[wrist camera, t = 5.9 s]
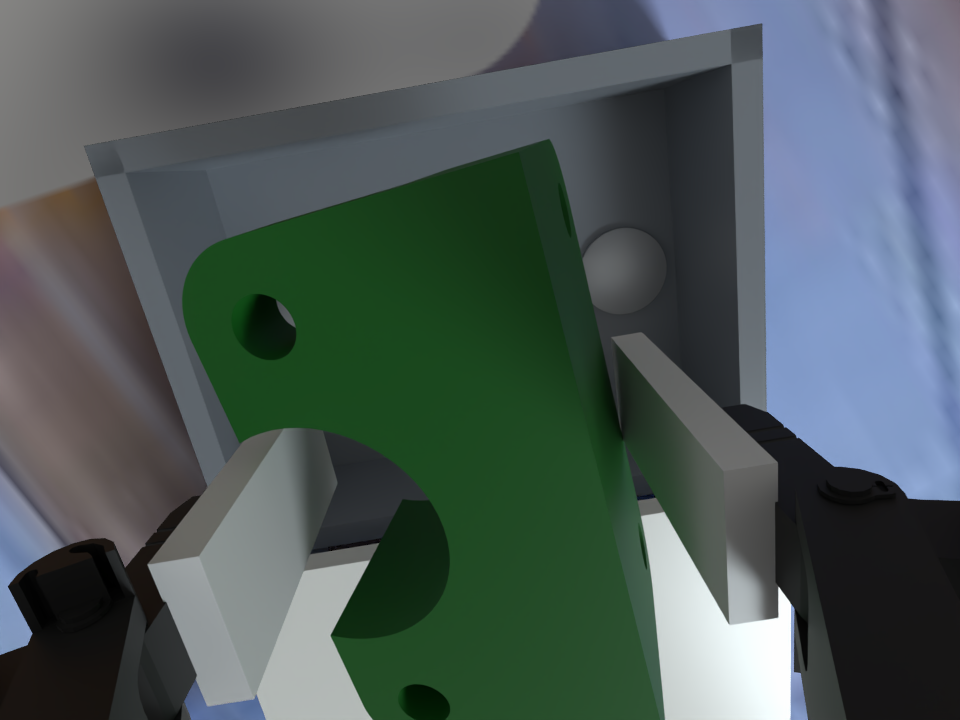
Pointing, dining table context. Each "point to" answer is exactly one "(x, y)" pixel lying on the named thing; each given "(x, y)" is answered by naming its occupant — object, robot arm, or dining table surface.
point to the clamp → (454, 436)
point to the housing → (463, 139)
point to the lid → (679, 622)
